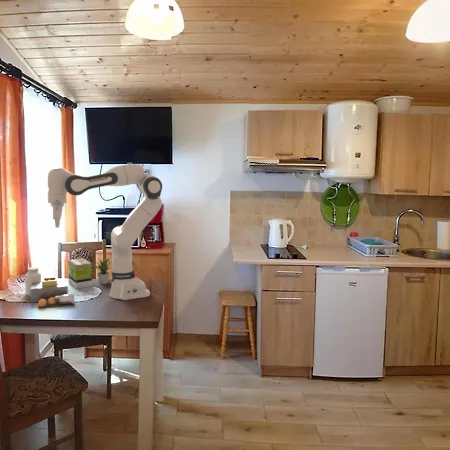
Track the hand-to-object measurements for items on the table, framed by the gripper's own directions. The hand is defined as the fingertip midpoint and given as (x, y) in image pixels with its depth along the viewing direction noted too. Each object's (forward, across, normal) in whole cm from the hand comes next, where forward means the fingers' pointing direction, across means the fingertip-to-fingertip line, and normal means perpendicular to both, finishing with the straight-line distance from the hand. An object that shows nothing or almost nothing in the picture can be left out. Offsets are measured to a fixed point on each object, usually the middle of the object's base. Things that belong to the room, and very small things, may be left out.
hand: (57, 226), depth 209 cm
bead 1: (+40, -8, +7) cm, 42 cm away
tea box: (+41, +30, -12) cm, 52 cm away
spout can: (+40, -7, -3) cm, 41 cm away
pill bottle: (+41, +17, +13) cm, 47 cm away
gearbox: (+41, +6, +4) cm, 42 cm away
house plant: (+41, +32, -26) cm, 58 cm away
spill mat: (+41, -6, +1) cm, 41 cm away
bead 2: (+40, -6, +3) cm, 41 cm away
